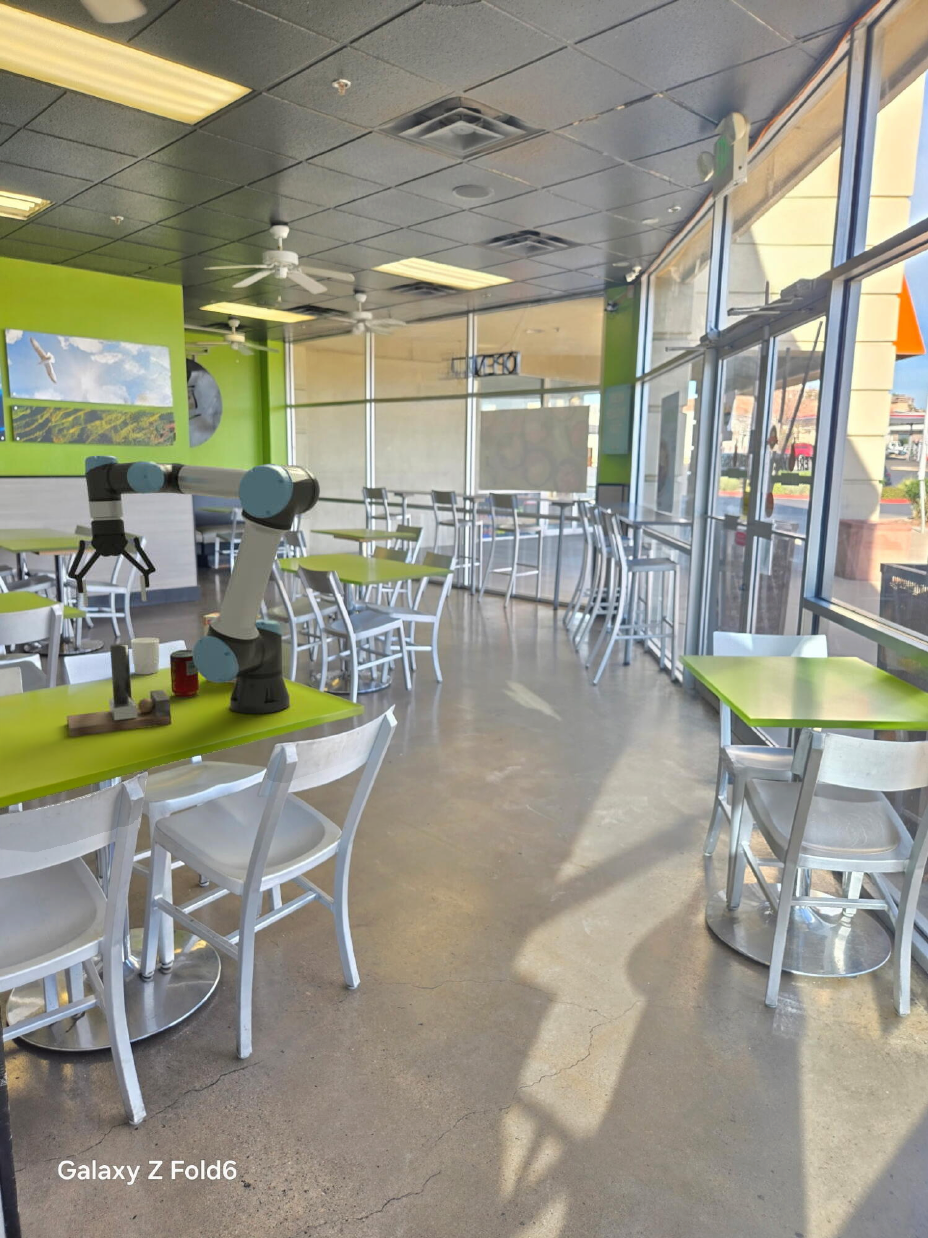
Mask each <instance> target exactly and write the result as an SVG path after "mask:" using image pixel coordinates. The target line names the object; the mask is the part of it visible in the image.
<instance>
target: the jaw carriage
mask: <svg viewBox="0 0 928 1238" xmlns="http://www.w3.org/2000/svg"><path fill="white" fill-rule="evenodd" d="M129 646H130V645H129V644H128V643H114V644H111V645H109V647H110V648H109V649H110V650H109V651H110V662H111V663H110V665H111V682H112V694H113V695H112V696H113V697H112V698H108V700H109V711H111V714H112V716H113V718H114V720H122V719H130V718H137V707H138V704H136V702H135V700H134V699H133V697H132V686H131V685H132V683H131V682H132V681H131V668H130V664H131V662H130V649H129Z"/></svg>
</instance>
